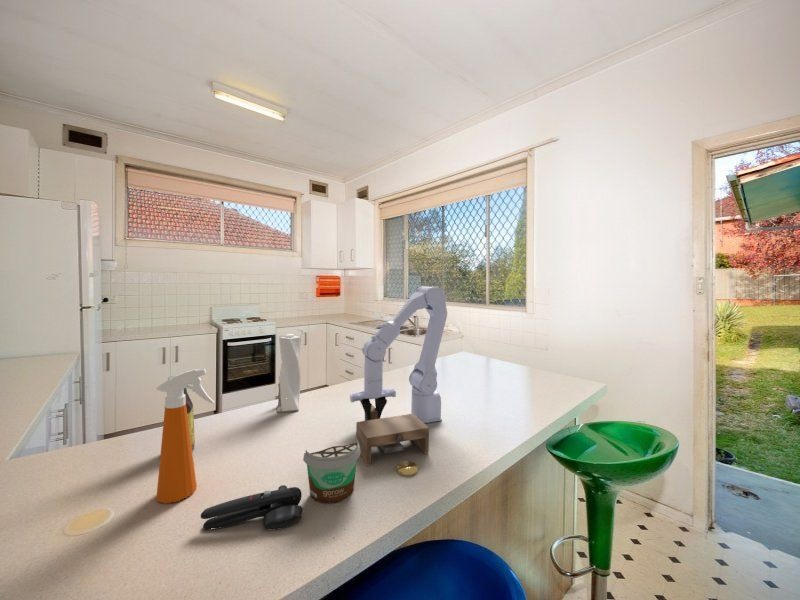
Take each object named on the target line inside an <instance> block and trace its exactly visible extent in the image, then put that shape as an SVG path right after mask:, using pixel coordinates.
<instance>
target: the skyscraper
mask: <svg viewBox="0 0 800 600" xmlns="http://www.w3.org/2000/svg"><path fill="white" fill-rule="evenodd" d="M295 332H301V333H300V336H298V335H297V336H295V335H296V334H294V333H295ZM302 336H303V330H302V329H295V330H294V329H293V331H291V332H290V333H288V334H285V335H279V336H278V337H279V338H278V341H279V342H278V343H279V351H280V352H279V353H280V358H281V359H280V360H281V365H280V372H279V376H278V377H279V378H278V379H279V380H278V381H279V382H278V384H277V387H278V392H277V393H278V394H277V401H278V402H277V409H276V413H277V414H282V413H283V414H284V413H293V412H299V403H300V394H301V381H302V380H301V378H302V377H301V367H300V362H299V358H300V351H301V346H302V345H301V342H302ZM286 398H287V399H286Z"/></svg>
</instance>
